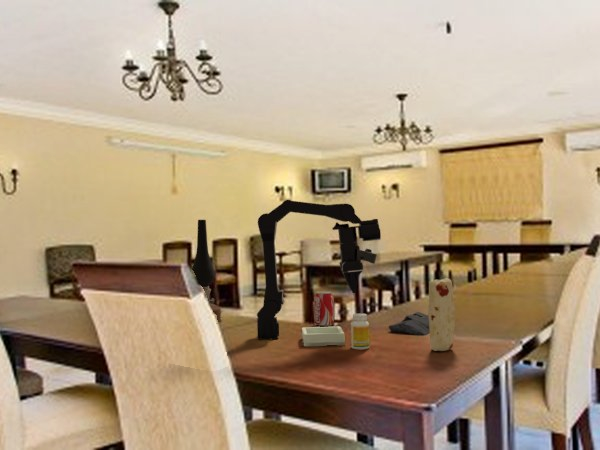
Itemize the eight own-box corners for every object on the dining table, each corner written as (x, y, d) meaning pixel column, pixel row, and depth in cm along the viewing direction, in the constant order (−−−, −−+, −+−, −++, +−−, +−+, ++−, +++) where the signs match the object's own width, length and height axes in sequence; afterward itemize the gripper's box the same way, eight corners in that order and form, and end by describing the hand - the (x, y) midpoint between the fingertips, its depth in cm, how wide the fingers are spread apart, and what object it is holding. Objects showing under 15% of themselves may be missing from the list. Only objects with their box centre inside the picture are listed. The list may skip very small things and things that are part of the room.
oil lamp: (205, 335, 199) (210, 228, 192) (174, 325, 207) (177, 221, 200) (228, 324, 211) (234, 223, 204) (198, 315, 219) (203, 217, 212)
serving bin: (304, 346, 160) (303, 334, 160) (302, 338, 172) (302, 327, 172) (344, 345, 160) (344, 333, 160) (340, 337, 172) (339, 326, 172)
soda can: (332, 327, 191) (331, 293, 191) (312, 327, 193) (312, 293, 193) (335, 324, 198) (334, 291, 198) (316, 323, 199) (315, 290, 200)
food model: (447, 354, 146) (445, 280, 146) (423, 352, 150) (422, 279, 150) (459, 348, 154) (458, 277, 154) (437, 345, 157) (435, 276, 158)
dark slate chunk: (380, 333, 181) (380, 319, 181) (406, 323, 199) (406, 310, 199) (424, 337, 172) (424, 322, 172) (447, 326, 190) (447, 313, 190)
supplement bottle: (347, 347, 158) (346, 314, 158) (363, 345, 160) (362, 312, 160) (357, 350, 153) (356, 316, 153) (373, 348, 155) (372, 314, 156)
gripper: (377, 241, 165) (382, 292, 164) (370, 240, 183) (375, 286, 183) (340, 244, 165) (345, 295, 165) (337, 243, 184) (342, 289, 183)
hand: (353, 291), depth 174 cm, fingers open, 9 cm apart
